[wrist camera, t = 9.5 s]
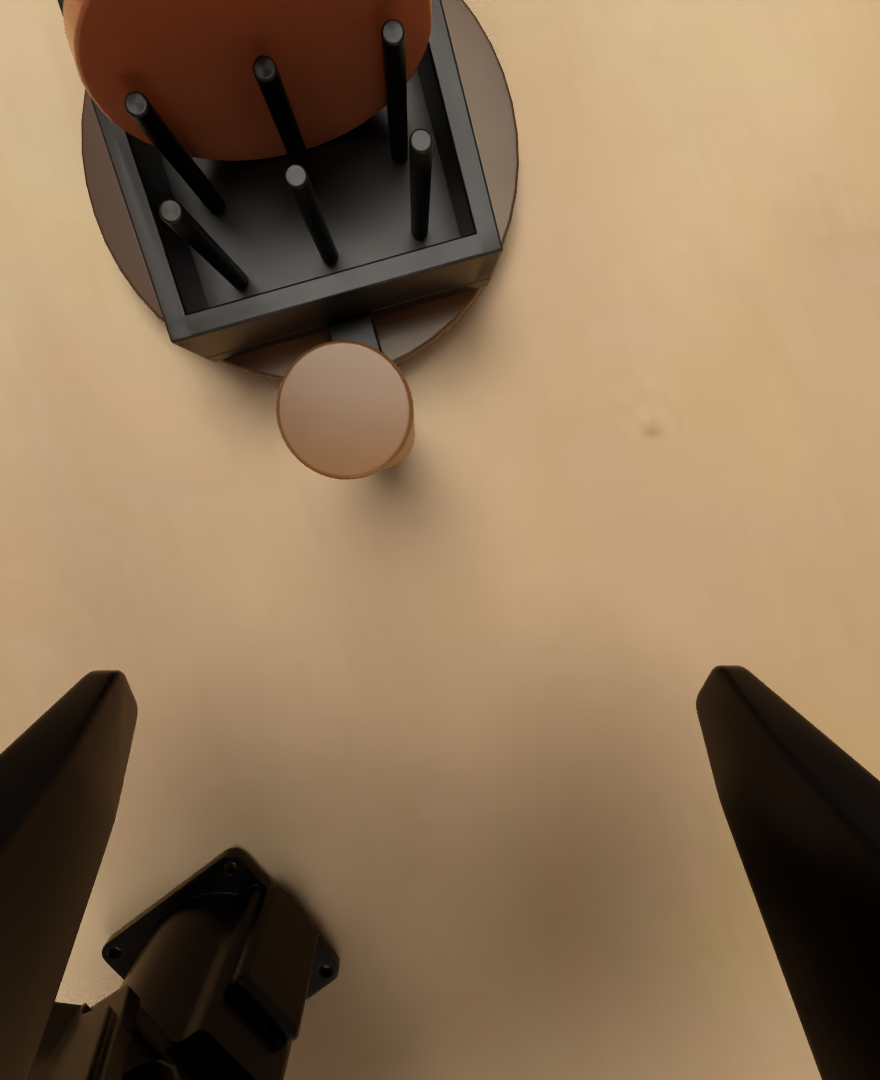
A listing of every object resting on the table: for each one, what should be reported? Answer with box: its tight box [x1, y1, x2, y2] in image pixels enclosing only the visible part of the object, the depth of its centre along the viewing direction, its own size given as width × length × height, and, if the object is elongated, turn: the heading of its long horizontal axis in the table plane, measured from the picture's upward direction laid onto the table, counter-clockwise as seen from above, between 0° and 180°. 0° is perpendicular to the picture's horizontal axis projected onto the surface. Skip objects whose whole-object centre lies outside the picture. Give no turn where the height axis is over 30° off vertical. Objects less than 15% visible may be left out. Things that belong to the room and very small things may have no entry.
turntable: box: [82, 0, 519, 381], centre depth 19 cm, size 13×13×2 cm
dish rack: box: [58, 0, 503, 479], centre depth 13 cm, size 14×9×10 cm, turn 15°
